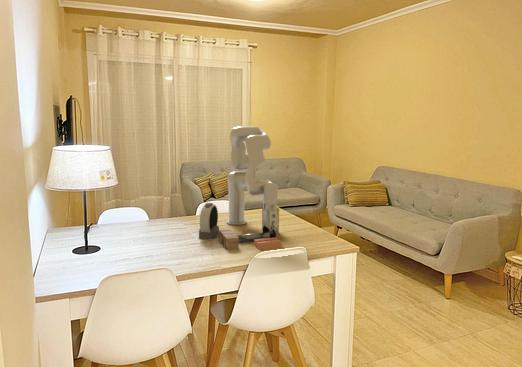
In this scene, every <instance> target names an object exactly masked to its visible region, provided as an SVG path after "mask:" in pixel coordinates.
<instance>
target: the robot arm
mask: <svg viewBox="0 0 522 367" xmlns="http://www.w3.org/2000/svg"><path fill="white" fill-rule="evenodd" d="M229 140H230V144H231V147H230V148H231V153H230V166H231V169H232V170H235V171H231V172H229V173H228V175H227V177H226V180H227V186H228V188H227V189H228V218H227V219H226V221H225V223H226V224H228V225H231V226H240V225H245V224H247V222H248V220H247V219H245V192H244V191H243V189H242V187H246V189H247V191H248V194H250V195H251V196H259V195H260V196H261V195H263V196H262V197H263V198H262V206H263V218H261V225H262V224H263V232H269V229H270V231H271V233H270V238H274V237H276V238H277V234H278V233H277V228H278V216H277V206H278V193H279V192H278V191H279V190H278V189H279V186H278V183H275V182H272V180H269V179H265V180H257V179H256V176H257V168H259V167H261V166H262V165H263V164H265V162H266V160H265V155H264V154H265V153H264V150H265V151H267V150H269V149H270V148H271V145H272V144H271V143H272V141H271V139H270V136H269V135H268V134H267V133H266V132H265V131H264V130H263V128H260V127H259V126H244V125H243V126H234V127H233V128H232V129H231V130H230V133H229ZM262 221H263V223H262ZM272 229H273V231H272Z"/></svg>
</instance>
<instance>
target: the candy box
mask: <svg viewBox="0 0 522 367" xmlns="http://www.w3.org/2000/svg"><path fill="white" fill-rule="evenodd" d="M261 210H262V211H261V212H262V214H261V216H262V218H263V205H262V208H261ZM277 216H278V228H277V233H276V234H278V233H279V232H280V231H279V230H280V206H279V205H277ZM262 218H261V219H262ZM262 223H263V221H262V220H261V233H262V232H263V224H262ZM272 231H273V229H272ZM269 232H271V231H270V229H269Z"/></svg>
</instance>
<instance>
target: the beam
mask: <svg viewBox="0 0 522 367" xmlns="http://www.w3.org/2000/svg"><path fill="white" fill-rule="evenodd" d="M237 235H238V234H235V233H234V232H233V231H232V230H231V229H230V228H224V229H223V228H222V229H219V236H218V241H219V242H220V243H221V244H223V247H224V248H225V249H226V250H237V249H239V245H240V244H239V243H240V242H239V237H238V236H237Z"/></svg>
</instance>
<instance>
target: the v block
mask: <svg viewBox="0 0 522 367" xmlns="http://www.w3.org/2000/svg"><path fill="white" fill-rule="evenodd" d="M252 242H253V244H252V245H254V247H256V249H257V250H258V251H262V250H263V251H264V250H270V249H278V248H279V249H280V248H282V243H281V242H282V241H281V240H280V239H278V237H277V236H276V237H274V238H264V239H255V240H254V241H252Z"/></svg>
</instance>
